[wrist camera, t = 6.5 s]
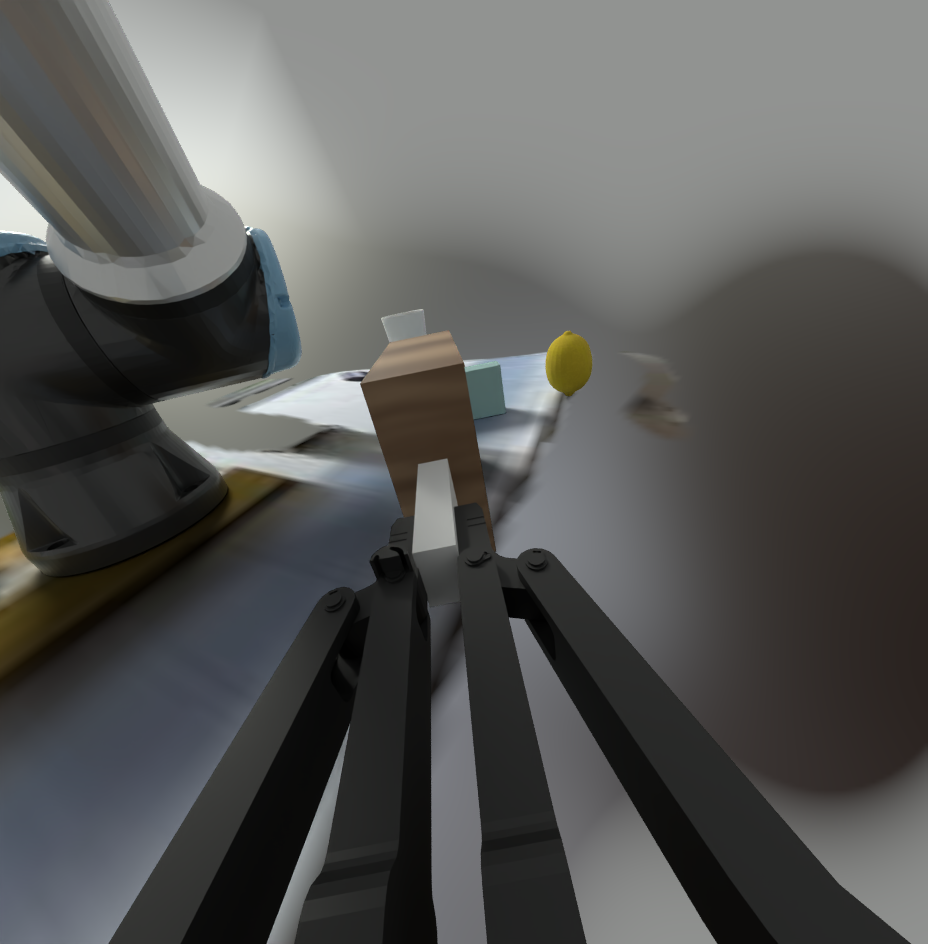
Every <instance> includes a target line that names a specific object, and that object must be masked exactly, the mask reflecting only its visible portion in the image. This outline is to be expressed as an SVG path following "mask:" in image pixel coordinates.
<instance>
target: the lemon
mask: <svg viewBox="0 0 928 944" xmlns="http://www.w3.org/2000/svg"><path fill="white" fill-rule="evenodd" d="M591 371H592V356H591V351H590V348H589V345H588V343H587V342H586V341H585V339H583V338H582V337H580V336H579V335H576V334H573V333H572V332H571V331H566V332H564V334H563V335H562V336H560V337H558V338H557V339H556V340H555V341H554V342H553V343H552V344H551V346H550V347H549V349H548V352H547V356H546V374H547V378H548V381H549V383H550V384H551V386H552V387H553V388H555V389H556V390H558V391H560V392H563V393H564V394H565V395H566V396H572V395H573V394H574V392H575V391H577V390H579V389H581V388H582V387H583V386H584V385H585V384H586V382H587V381H588V379H589V377H590V375H591Z"/></svg>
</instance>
